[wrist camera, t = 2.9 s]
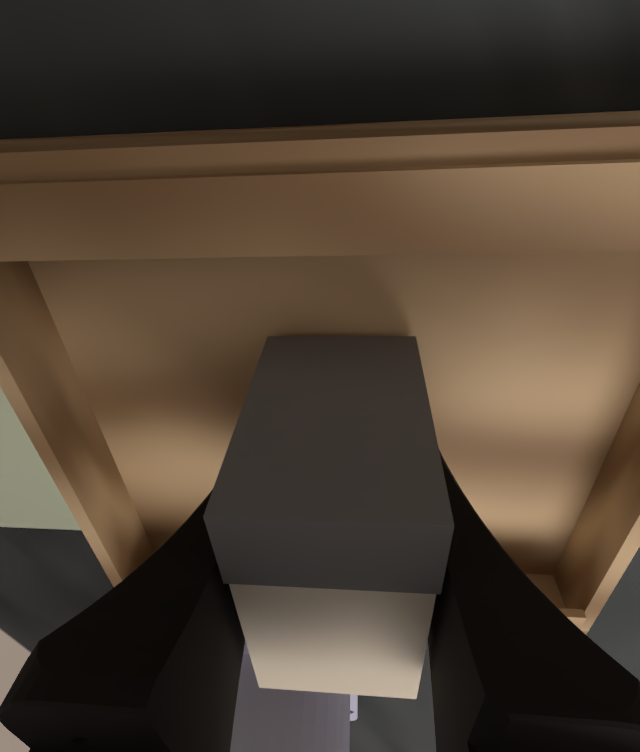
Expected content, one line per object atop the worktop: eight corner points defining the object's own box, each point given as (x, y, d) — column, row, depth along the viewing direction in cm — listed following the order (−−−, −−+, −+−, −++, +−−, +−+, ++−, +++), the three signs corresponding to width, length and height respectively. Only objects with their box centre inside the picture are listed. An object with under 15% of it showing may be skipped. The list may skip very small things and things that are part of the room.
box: (401, 505, 16) (418, 703, 11) (288, 501, 16) (256, 691, 11) (415, 335, 12) (454, 525, 7) (267, 336, 12) (203, 516, 7)
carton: (559, 573, 19) (587, 646, 16) (151, 554, 20) (123, 618, 18) (774, 104, 9) (920, 116, 7) (-32, 140, 11) (-143, 160, 8)
